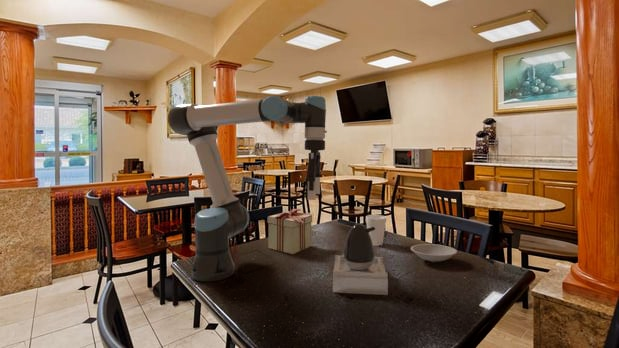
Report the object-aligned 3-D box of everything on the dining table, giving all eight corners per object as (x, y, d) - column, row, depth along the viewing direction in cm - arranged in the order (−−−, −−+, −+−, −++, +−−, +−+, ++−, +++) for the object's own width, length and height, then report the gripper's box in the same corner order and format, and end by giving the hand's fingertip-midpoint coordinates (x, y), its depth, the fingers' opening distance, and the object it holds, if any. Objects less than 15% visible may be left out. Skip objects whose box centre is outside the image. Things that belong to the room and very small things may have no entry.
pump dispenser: (374, 274, 101) (375, 228, 100) (342, 272, 103) (342, 227, 102) (374, 263, 111) (375, 221, 110) (345, 261, 113) (345, 219, 112)
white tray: (332, 292, 100) (332, 267, 100) (336, 265, 123) (336, 245, 122) (387, 295, 98) (388, 270, 98) (380, 267, 121) (380, 246, 120)
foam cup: (362, 242, 153) (362, 215, 152) (379, 240, 156) (379, 214, 155) (371, 247, 144) (371, 219, 143) (389, 245, 147) (389, 218, 146)
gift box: (300, 256, 134) (300, 216, 133) (266, 249, 143) (265, 212, 142) (319, 245, 149) (319, 209, 147) (287, 240, 158) (286, 206, 156)
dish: (416, 268, 120) (416, 255, 119) (406, 255, 134) (406, 243, 134) (463, 268, 119) (464, 255, 119) (448, 255, 134) (448, 243, 133)
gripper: (321, 138, 103) (320, 202, 105) (328, 140, 128) (327, 192, 130) (298, 138, 104) (298, 201, 106) (309, 140, 129) (309, 191, 131)
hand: (314, 196), depth 118 cm, fingers open, 13 cm apart
